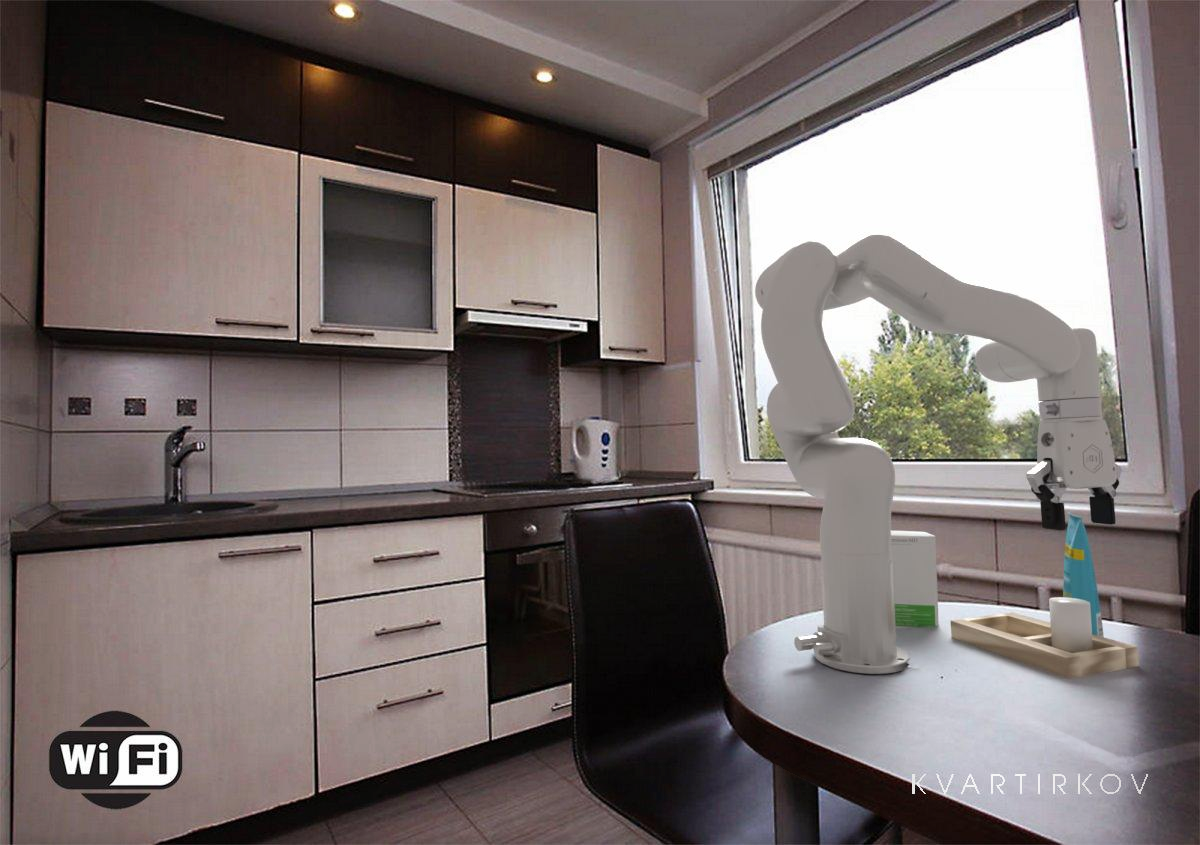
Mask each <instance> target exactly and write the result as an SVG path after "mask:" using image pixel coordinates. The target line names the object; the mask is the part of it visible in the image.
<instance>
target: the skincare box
mask: <svg viewBox="0 0 1200 845" xmlns="http://www.w3.org/2000/svg"><path fill="white" fill-rule="evenodd" d="M891 546H892V562H893V582H894V603H895V623H896V631H898V630H899V631H902V630H909V629H915V628H924V627H939V622H940V621H939V600H938V599H939V596H938V592H939V591H938V571H937V568H938V567H937V564H938V563H937V540H936V535H934V534H931V533H929V532H926V531H917V530H916V531H913V530H911V531H910V530H909V531H908V530H891Z"/></svg>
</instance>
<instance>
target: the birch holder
mask: <svg viewBox="0 0 1200 845" xmlns="http://www.w3.org/2000/svg"><path fill="white" fill-rule="evenodd" d="M950 633H951V634H950V636H951V638H952V639H955V640H958V641H960V642H963V643H966V644H968V645H971V646H974V647H977V648H980V649H983V650H986V651H988V652H992V653H995V654H997V655H999V656H1003V657H1005V658H1009V659H1011V660H1014V661H1016V662H1020V663H1022V664H1026V665H1029V666H1031V667H1033V668H1037V669H1040V670H1043V671H1045V672H1048V673H1050V674H1053V675H1056V676H1060V677H1062V678H1065V679H1073V678H1074V679H1075V678H1079V677H1085V676H1092V675H1098V674H1103V673H1109V672H1114V671H1120V670H1125V669H1126V670H1127V669H1133V668H1138V667H1140V663H1139V653H1138V652H1139V648H1138V646H1136V645H1133V644H1130V643H1129V644H1128V643H1126V642H1122V641H1118V640H1114V639H1111V638H1107V637H1105V636H1104V637H1101V636H1097V635H1093V634H1092V642H1093V650H1090V651H1084V652H1077V653H1070V652H1067V651H1063V650H1060V649H1057V648H1054V647H1052V641H1051V624H1050V622H1048V621H1045V620H1042V619H1038V618H1034V617H1030V616H1026V615H1025V614H1020V613H1015V612H1006V613H1000V614H992V615H983V616H975V617H966V618H962V619H961V618H959V619H953V620H950Z"/></svg>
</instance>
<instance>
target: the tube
mask: <svg viewBox="0 0 1200 845" xmlns="http://www.w3.org/2000/svg"><path fill="white" fill-rule="evenodd" d="M1067 513H1068V515H1069V517H1068V523H1067V527H1066V528H1067V529H1066V536H1065V543H1064V544H1065V546H1064V559H1063V584H1062V586H1063V588H1062V597H1067V598H1076V599H1081V600H1085V601H1088V602H1090V609H1091V625H1092V634H1093V635H1097V636H1101V637H1104V638H1105V636H1104V628H1103V620H1102V614H1101V605H1100V599H1099V598H1100V597H1099V592H1098V583H1097V580H1096V572H1095V567H1094V562H1093V557H1092V556H1093V555H1092V551H1091V547H1090V541H1089V537H1088V534H1087V531H1086V527H1085V525H1084V522H1083V517H1082V516H1078V515H1074V514H1071V512H1069V511H1068V512H1067Z"/></svg>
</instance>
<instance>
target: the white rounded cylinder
mask: <svg viewBox="0 0 1200 845" xmlns="http://www.w3.org/2000/svg"><path fill="white" fill-rule="evenodd" d="M1048 601H1049V602H1048V603H1049V604H1048V605H1049V619H1050V622H1049V623H1050V624H1051V641H1052V647H1054V648H1057V649H1060V650H1063V651H1067V652H1070V653H1077V652H1084V651H1090V650H1093V642H1092V625H1091V609H1090V602H1088V601H1085V600H1081V599H1076V598H1067V597H1063V596H1062V597H1061V596H1059V597H1058V596H1057V597H1056V596H1054V597H1050V598H1049V599H1048Z"/></svg>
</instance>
